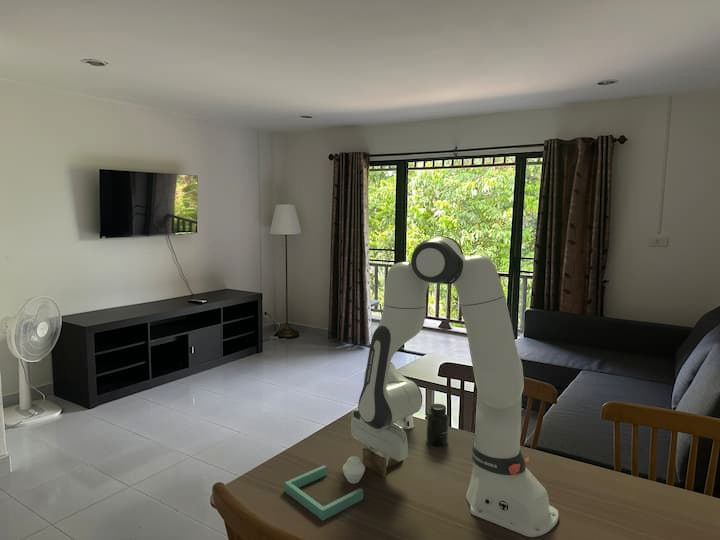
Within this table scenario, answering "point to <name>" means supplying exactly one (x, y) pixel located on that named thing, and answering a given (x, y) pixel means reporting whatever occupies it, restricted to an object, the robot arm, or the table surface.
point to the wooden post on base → (377, 461)
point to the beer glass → (406, 422)
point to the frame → (312, 505)
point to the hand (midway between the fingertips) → (378, 462)
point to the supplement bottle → (437, 425)
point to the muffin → (353, 469)
